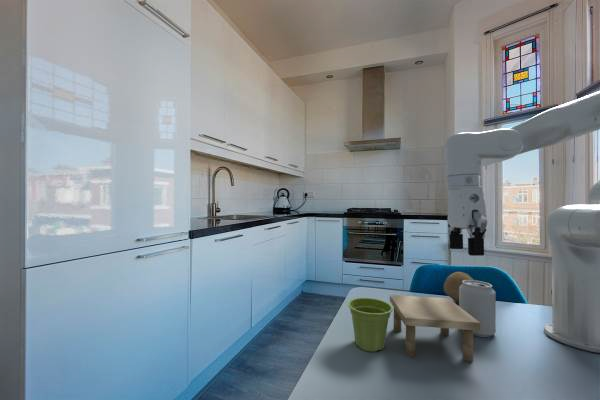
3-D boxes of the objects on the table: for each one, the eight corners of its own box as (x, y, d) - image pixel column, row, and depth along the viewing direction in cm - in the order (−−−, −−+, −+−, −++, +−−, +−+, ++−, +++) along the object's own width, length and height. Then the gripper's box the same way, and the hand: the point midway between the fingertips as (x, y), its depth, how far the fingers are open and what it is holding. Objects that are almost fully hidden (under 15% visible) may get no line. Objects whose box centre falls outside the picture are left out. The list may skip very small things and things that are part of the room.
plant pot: (391, 361, 52) (392, 316, 52) (343, 351, 55) (344, 309, 56) (392, 339, 61) (393, 300, 61) (351, 331, 64) (351, 295, 64)
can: (502, 340, 61) (502, 288, 61) (466, 336, 63) (466, 285, 63) (486, 326, 69) (486, 279, 69) (454, 323, 70) (454, 277, 70)
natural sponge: (478, 311, 79) (479, 277, 79) (444, 305, 83) (444, 273, 83) (474, 301, 87) (474, 270, 87) (443, 297, 91) (443, 267, 91)
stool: (448, 331, 65) (448, 298, 66) (479, 364, 52) (479, 322, 52) (389, 327, 67) (390, 295, 67) (404, 358, 53) (405, 317, 53)
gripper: (501, 179, 58) (504, 258, 57) (462, 185, 75) (464, 246, 74) (465, 180, 59) (467, 258, 58) (434, 186, 76) (436, 246, 75)
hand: (465, 251), depth 66 cm, fingers open, 9 cm apart
